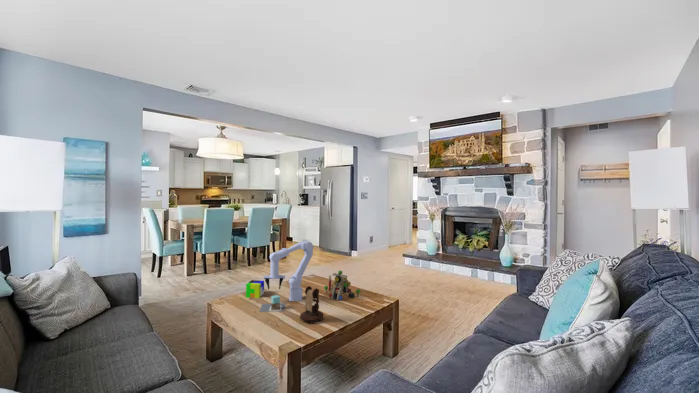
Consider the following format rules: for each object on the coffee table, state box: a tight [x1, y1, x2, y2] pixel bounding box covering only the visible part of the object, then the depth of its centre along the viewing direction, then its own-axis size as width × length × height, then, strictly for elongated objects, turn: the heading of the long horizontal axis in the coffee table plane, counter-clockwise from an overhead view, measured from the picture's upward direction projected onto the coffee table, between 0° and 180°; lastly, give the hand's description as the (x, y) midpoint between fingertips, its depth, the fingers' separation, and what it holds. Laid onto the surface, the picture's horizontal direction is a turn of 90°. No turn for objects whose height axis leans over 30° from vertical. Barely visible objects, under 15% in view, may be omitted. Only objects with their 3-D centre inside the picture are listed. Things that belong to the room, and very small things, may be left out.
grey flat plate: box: [259, 302, 286, 313], centre depth 207 cm, size 16×14×1 cm
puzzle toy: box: [245, 279, 265, 299], centre depth 232 cm, size 10×10×10 cm
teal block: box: [270, 294, 281, 304], centre depth 206 cm, size 4×4×4 cm
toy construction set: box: [323, 270, 361, 301], centre depth 236 cm, size 27×22×21 cm
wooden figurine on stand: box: [299, 285, 324, 325], centre depth 191 cm, size 15×15×20 cm
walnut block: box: [271, 302, 281, 310], centre depth 206 cm, size 5×5×4 cm
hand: (274, 288), depth 216 cm, fingers open, 7 cm apart
